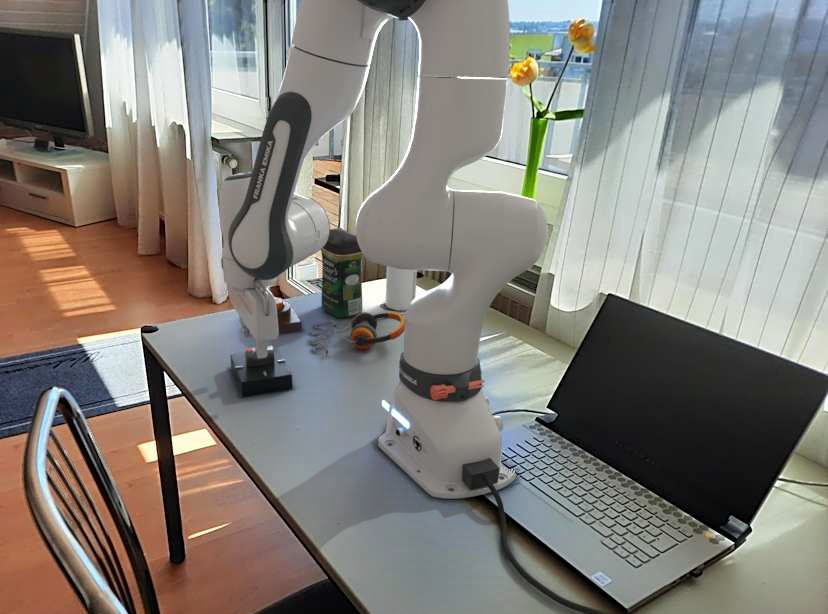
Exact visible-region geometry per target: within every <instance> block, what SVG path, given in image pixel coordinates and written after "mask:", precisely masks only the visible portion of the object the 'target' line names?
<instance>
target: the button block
mask: <svg viewBox="0 0 828 614" xmlns="http://www.w3.org/2000/svg"><path fill="white" fill-rule="evenodd" d="M277 317H278V330H279V335H280V334H281V335H282V334H290V333H297V332H302V321H301V319H300V318H299V316H298V315H297V313H296V312H295V310H294V309H293V307H292V306H291V304H290V303H289V302H286V301H284V300H283V309H281V310H278V311H277Z"/></svg>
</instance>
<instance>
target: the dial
mask: <svg viewBox="0 0 828 614" xmlns="http://www.w3.org/2000/svg"><path fill="white" fill-rule="evenodd" d="M244 353H245V360H246V365H247V368H250V367H257V366H263V365H270V364H275V359H274V347H273V345H268V348H267V353H268V355H267V357H265V358H258V357H257V355H256V354H255V347H246V348H245V349H244Z"/></svg>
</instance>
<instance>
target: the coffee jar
mask: <svg viewBox="0 0 828 614" xmlns="http://www.w3.org/2000/svg"><path fill="white" fill-rule="evenodd" d="M320 251H321V262H322V263H321V265H322V266H321V267H322V269H321V270H322V271H321V275H322V276H321V308H322V309H323V310H324V311H325V312H326V313H328V314H329V315H331V316H333V317H335V318H339V319H341V318H343V319H344V318H345V319H346V318H347V319H349V318H354V317H355V316H356V315H357V314H359V313H363V312H362V311H363V287H362V286H363V285H362V284H363V283H362V282H363V280H362V278H363V277H362V265H363V264H362V263H363V262H362V261H363V257H364V254H363V252H362V251H361V249H360V247H359V244H358V242H357V237H356V233H353V232H352V231H351V232H350V231H349V230H346V229H343V228H342V227H336V228H330V235H329V239H328V241H327V243H326V245H325V246H324V247H323V248H322V249H321V250H320Z"/></svg>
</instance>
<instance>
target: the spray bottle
mask: <svg viewBox="0 0 828 614" xmlns="http://www.w3.org/2000/svg"><path fill="white" fill-rule="evenodd" d="M417 276H418V270H406V269H398V268H393V267H389V266H386V277H385V278H386V280H385V282H386V283H385V306H386V308H388V309H390V310H393V311H394V310H395V311H407V308H408V306H409V305H410V303H411V302H412V301H413V300H414V299H415V298H416V295H417V294H416V293H417V278H418V277H417Z"/></svg>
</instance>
